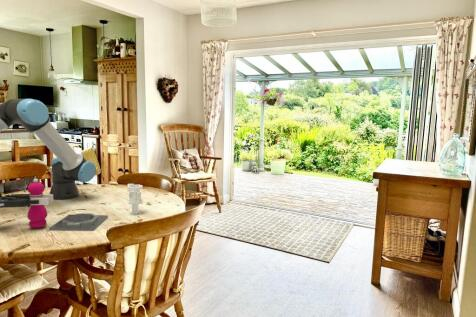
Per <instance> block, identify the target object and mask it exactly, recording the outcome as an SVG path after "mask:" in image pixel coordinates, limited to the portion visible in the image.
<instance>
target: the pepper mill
mask: <svg viewBox="0 0 476 317" xmlns="http://www.w3.org/2000/svg"><path fill="white" fill-rule="evenodd" d="M44 191H45V185H44V184H43V183H42V182H39V179H38V178H33V180H32V182H31V183H30V184H28V186H27V192H28V194H30V195H29V196H30V197H29V198H42V197H43V195H44V193H43V192H44ZM47 217H48V211H47V209H46V207H45V205H31V204H30V207H29V209H28V211H27V220H29V222H28V226H29V227H30V228H42V227H45V226H47V223H48V222H47Z"/></svg>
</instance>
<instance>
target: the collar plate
mask: <svg viewBox="0 0 476 317" xmlns="http://www.w3.org/2000/svg"><path fill="white" fill-rule="evenodd" d="M108 217H109V215H107V214H106V215H102V214H99V215H98V214H94V213H92V212H91V213H89V212H88V213H86V212H84V213H83V212H82V213H81V212H80V213H75V214H68V215H66V216H65V217H62V219H60V220H59V221H57V222H55V223H54V224H53V225H51V226H50V227H48V231H74V232H75V231H76V232H77V231H78V232H79V231H80V232H83V231H84V232H86V231H87V232H88V231H89V232H93V231H96V229H97V228H98V227H100V226H101V225H102V223H104V222H105V221H106V220H107V219H109V218H108Z"/></svg>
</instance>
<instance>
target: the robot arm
mask: <svg viewBox="0 0 476 317" xmlns="http://www.w3.org/2000/svg"><path fill="white" fill-rule="evenodd" d="M49 112H50V111H49V109H48V107H47V105H45V104H44V103H43V102H42V101H40V100H38V99H33V98H11V99H8V100H7V99H6V100H5V101H3V102H2V103H1V104H0V133H1V132H2V131H3V130H5V131H7V130H8V129H9V128H10V127H12V126H13V125H16V124H18V125H21V126H22V127H23V128H24V130H26V131H27V132H29V133H34V135H35V136H36V137H37V138H38V139H39V140H40V141H41V142H42V144H44V146H46V147H47V149H48V150H49V151H51V153H52V154H53V155H54V156H55V157H53V158H52V160H51V177H52V178H51V179H52V185H51V188H50V191H49V194H43V197H42V198H29V197H30V196H29V195H30V193H11V194H5V195H2V193H1V192H0V209H1V208H26V207H27V208H30V206H31V205H44V206H47V205H49V204H50V202H53V201H54V200H68V199H74V198H75V199H76V198H78V197H79V195H80V191H79V189H78V185H77V184H76V182H80V183H87V182H90V181H91V180H93V179H94V178H95V175H96V170H97V166H96V165H95V163H94V162H93V161H91V160H87V159H86V158H85V157H84V155H82V154H80V153H77V152H76V151H75V150H74V149H73V147H71V145H70V143H68V142H67V140H66V139H64V137H63V136H62V135H61V134H60V132H59V131H58V130H57V129H56V128H55V126H54V125H53V124H52V123H51V117H50V114H49Z"/></svg>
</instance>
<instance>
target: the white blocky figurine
mask: <svg viewBox="0 0 476 317" xmlns="http://www.w3.org/2000/svg"><path fill="white" fill-rule="evenodd" d="M142 189H143V185H142V184H135V183H127V192H129V194H128V196H129V199H128V200H127V204H128V205H131V214H132V215H138V214H139V213H140V212H139V205H141V204H143V199H142V191H141V190H142Z"/></svg>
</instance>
